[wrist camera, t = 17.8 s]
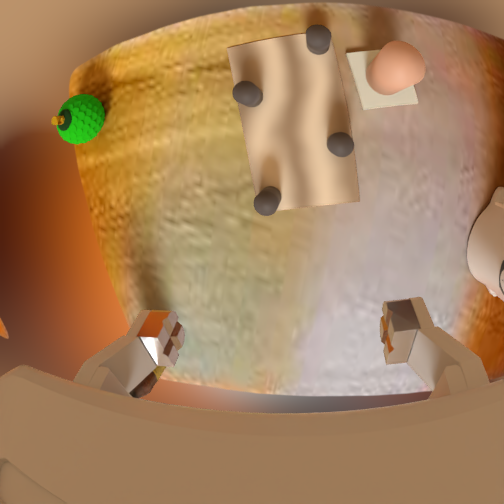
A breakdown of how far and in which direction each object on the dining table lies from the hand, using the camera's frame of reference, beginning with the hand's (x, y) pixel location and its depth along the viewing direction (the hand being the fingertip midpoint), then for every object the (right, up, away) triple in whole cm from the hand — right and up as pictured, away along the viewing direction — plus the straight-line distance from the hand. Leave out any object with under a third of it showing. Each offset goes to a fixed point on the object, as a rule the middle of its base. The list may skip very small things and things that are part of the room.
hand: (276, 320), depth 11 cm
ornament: (-27, +25, +29) cm, 46 cm away
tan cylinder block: (+16, +25, +18) cm, 35 cm away
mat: (+16, +25, +19) cm, 35 cm away
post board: (+5, +20, +24) cm, 32 cm away
